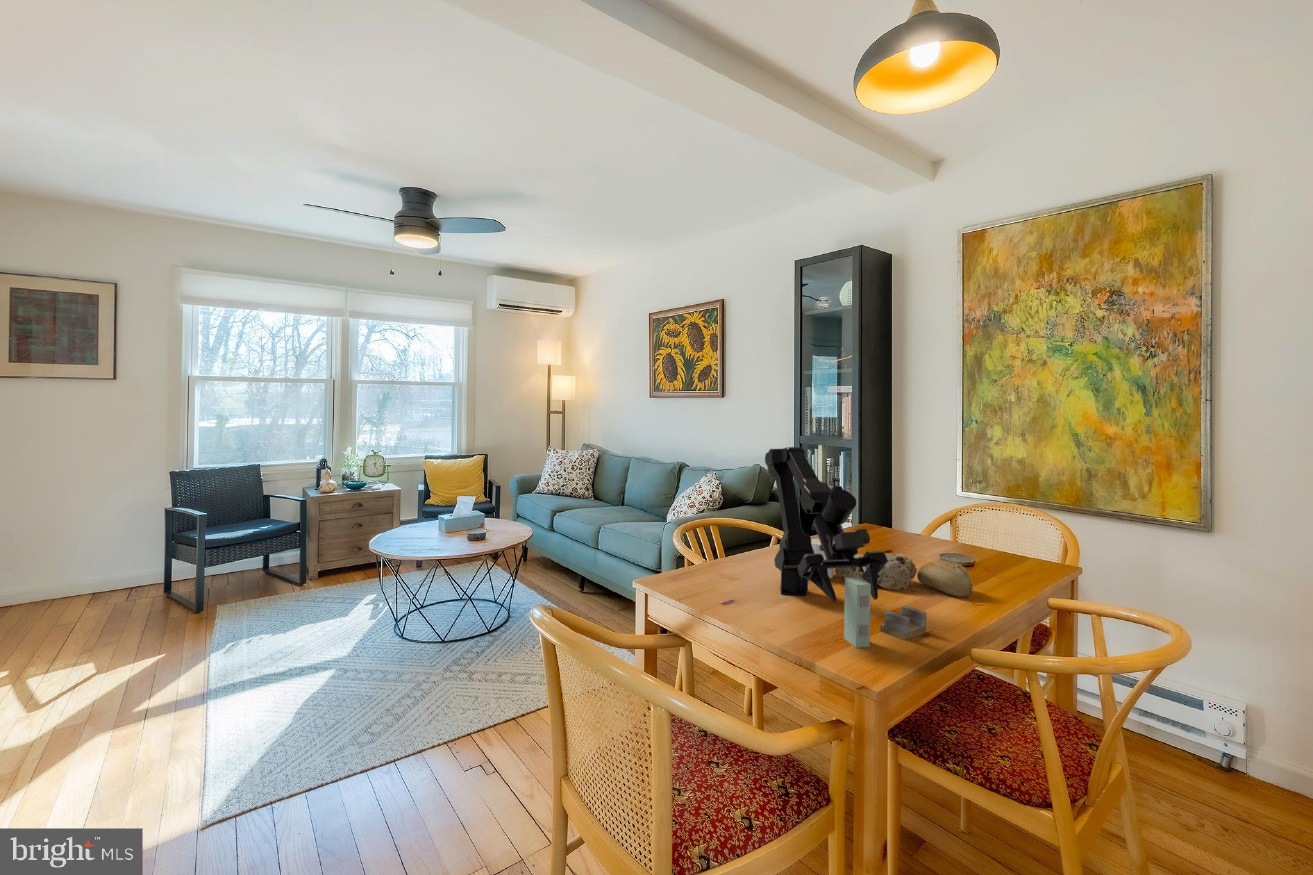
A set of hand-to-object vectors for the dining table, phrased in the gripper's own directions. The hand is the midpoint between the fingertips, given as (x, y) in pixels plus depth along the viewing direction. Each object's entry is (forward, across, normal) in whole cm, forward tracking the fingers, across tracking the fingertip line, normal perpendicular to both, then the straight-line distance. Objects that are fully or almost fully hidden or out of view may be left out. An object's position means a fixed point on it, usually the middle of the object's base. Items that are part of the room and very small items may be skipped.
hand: (855, 600), depth 120 cm
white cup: (-26, +14, +38) cm, 48 cm away
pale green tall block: (+7, 0, +6) cm, 9 cm away
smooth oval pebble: (-13, +40, +26) cm, 49 cm away
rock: (-21, +27, +34) cm, 48 cm away
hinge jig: (+4, +13, +8) cm, 16 cm away
